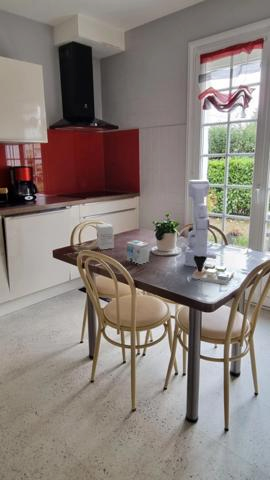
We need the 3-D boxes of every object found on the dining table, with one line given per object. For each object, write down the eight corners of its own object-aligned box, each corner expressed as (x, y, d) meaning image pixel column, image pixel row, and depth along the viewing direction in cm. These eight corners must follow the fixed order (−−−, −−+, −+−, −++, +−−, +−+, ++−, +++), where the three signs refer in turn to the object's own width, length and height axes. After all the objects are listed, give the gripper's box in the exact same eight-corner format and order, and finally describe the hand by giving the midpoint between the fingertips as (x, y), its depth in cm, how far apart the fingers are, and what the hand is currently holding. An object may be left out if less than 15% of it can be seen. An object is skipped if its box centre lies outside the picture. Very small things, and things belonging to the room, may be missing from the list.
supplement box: (97, 247, 208) (96, 224, 205) (110, 245, 211) (109, 223, 207) (99, 251, 200) (98, 227, 196) (114, 249, 203) (113, 225, 199)
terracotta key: (194, 274, 155) (194, 271, 154) (197, 271, 158) (197, 268, 158) (202, 275, 153) (202, 272, 152) (205, 273, 156) (205, 270, 156)
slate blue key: (217, 278, 149) (217, 275, 149) (219, 275, 153) (219, 272, 152) (226, 280, 147) (226, 276, 147) (228, 277, 151) (228, 274, 150)
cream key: (205, 274, 152) (205, 271, 151) (208, 271, 155) (208, 268, 155) (214, 275, 150) (214, 272, 149) (216, 272, 153) (216, 269, 153)
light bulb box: (126, 261, 181) (126, 242, 178) (135, 258, 185) (135, 239, 183) (140, 265, 173) (140, 245, 171) (149, 262, 178) (149, 243, 175)
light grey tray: (192, 278, 154) (192, 275, 154) (201, 269, 165) (201, 267, 165) (226, 284, 146) (226, 281, 146) (233, 275, 157) (233, 272, 157)
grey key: (204, 269, 158) (204, 266, 158) (206, 266, 161) (207, 263, 161) (212, 270, 156) (212, 267, 156) (214, 268, 160) (215, 265, 159)
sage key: (215, 271, 155) (215, 268, 155) (217, 268, 159) (218, 265, 158) (223, 272, 153) (223, 269, 153) (226, 269, 157) (226, 266, 156)
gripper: (183, 243, 152) (182, 271, 155) (213, 247, 145) (212, 276, 148) (188, 240, 158) (187, 266, 161) (218, 243, 151) (216, 271, 154)
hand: (199, 271), depth 155 cm, fingers closed, pressing on terracotta key
